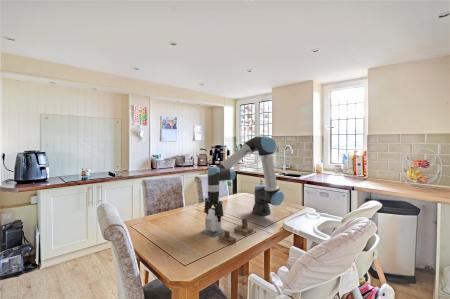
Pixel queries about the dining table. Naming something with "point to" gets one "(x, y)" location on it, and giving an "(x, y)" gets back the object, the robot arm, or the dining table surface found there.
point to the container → (211, 220)
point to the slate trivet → (211, 233)
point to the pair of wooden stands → (239, 229)
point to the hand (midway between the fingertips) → (213, 225)
